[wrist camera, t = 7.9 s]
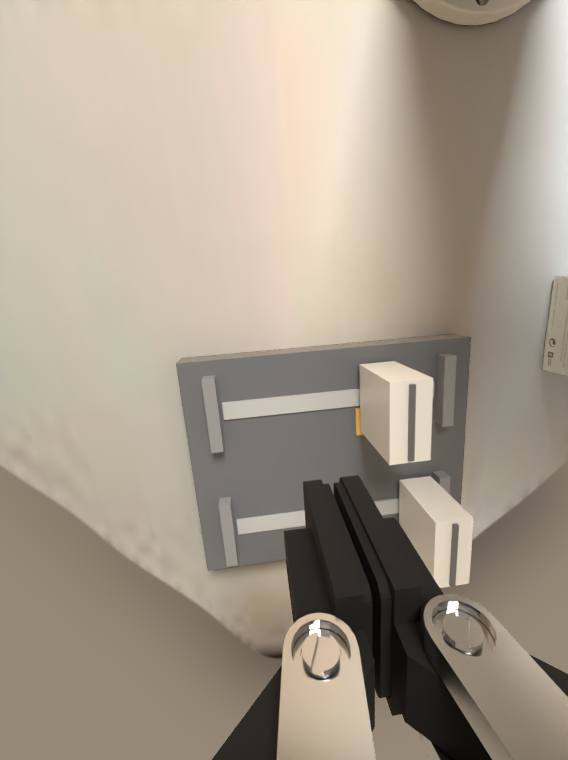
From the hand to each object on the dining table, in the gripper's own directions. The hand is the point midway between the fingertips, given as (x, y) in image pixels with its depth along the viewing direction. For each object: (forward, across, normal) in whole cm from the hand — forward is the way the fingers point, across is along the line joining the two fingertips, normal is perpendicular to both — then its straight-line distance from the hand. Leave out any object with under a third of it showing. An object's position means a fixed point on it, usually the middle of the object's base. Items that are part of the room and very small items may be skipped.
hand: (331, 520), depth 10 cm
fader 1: (+13, -6, +1) cm, 14 cm away
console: (+15, -3, +6) cm, 16 cm away
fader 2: (+13, -9, +10) cm, 19 cm away
